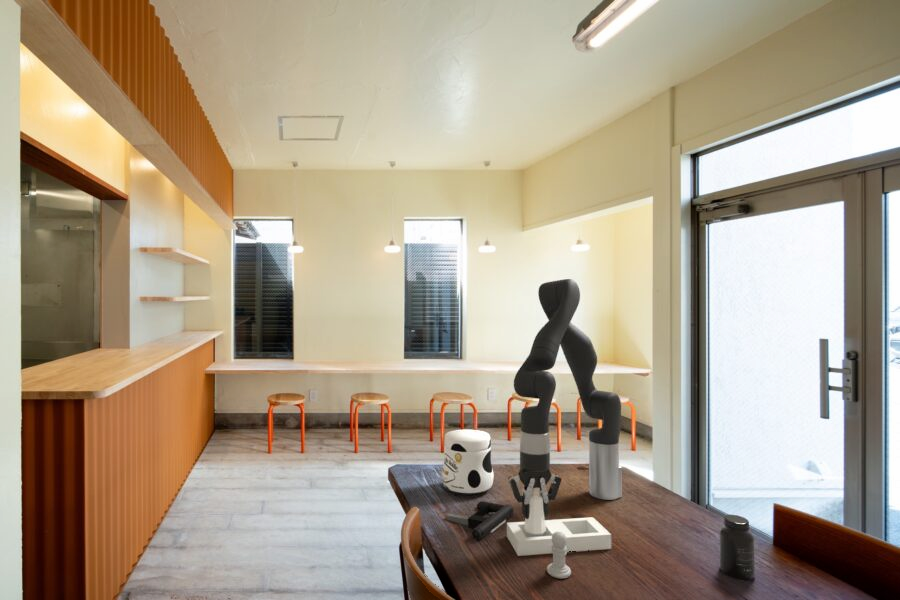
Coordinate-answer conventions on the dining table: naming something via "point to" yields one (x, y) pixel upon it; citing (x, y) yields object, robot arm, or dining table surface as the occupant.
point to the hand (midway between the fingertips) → (534, 516)
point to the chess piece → (559, 557)
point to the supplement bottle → (737, 548)
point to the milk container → (467, 462)
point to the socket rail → (577, 532)
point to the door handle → (484, 518)
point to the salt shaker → (535, 514)
